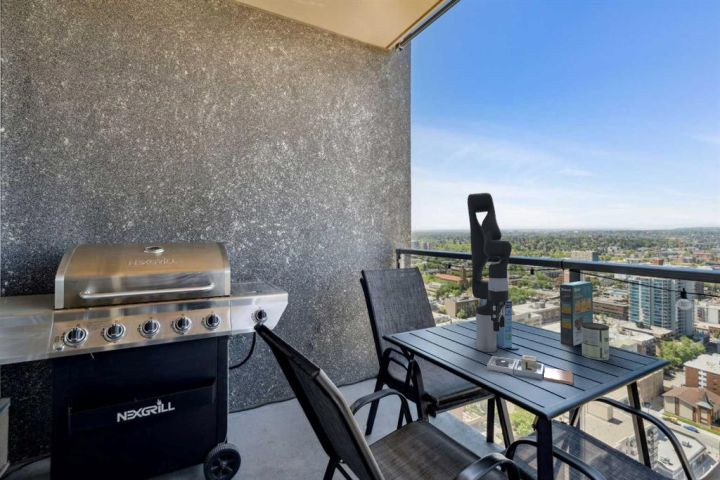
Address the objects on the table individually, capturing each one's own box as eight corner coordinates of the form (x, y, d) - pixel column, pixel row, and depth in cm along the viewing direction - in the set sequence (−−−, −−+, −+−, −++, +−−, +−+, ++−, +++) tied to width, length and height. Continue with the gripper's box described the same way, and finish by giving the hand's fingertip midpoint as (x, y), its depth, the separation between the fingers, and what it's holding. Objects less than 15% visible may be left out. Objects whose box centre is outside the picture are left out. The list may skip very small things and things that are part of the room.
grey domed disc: (496, 362, 141) (496, 358, 141) (509, 365, 139) (509, 360, 139) (494, 366, 137) (494, 361, 137) (507, 369, 135) (507, 364, 135)
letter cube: (522, 367, 136) (522, 354, 136) (536, 369, 134) (536, 356, 134) (521, 371, 132) (521, 358, 132) (535, 373, 129) (535, 360, 129)
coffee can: (583, 351, 158) (583, 321, 158) (611, 356, 151) (610, 324, 151) (579, 356, 150) (579, 325, 150) (607, 362, 143) (607, 329, 143)
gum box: (481, 337, 182) (480, 295, 182) (489, 336, 183) (488, 294, 183) (503, 348, 163) (503, 301, 163) (513, 347, 164) (512, 300, 164)
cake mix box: (580, 336, 183) (579, 281, 183) (593, 338, 177) (592, 282, 178) (560, 343, 170) (559, 284, 171) (573, 346, 165) (572, 285, 166)
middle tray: (517, 365, 140) (517, 359, 140) (543, 369, 135) (543, 363, 135) (514, 374, 130) (514, 369, 130) (542, 379, 125) (542, 373, 125)
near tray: (492, 360, 146) (492, 355, 146) (516, 364, 141) (516, 359, 141) (487, 369, 135) (487, 364, 135) (513, 374, 130) (512, 368, 130)
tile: (545, 370, 135) (545, 367, 135) (572, 374, 130) (572, 371, 130) (544, 379, 125) (544, 377, 125) (573, 384, 121) (573, 382, 121)
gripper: (493, 286, 144) (494, 324, 144) (483, 290, 133) (484, 331, 132) (512, 287, 140) (512, 326, 139) (503, 291, 128) (504, 334, 128)
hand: (499, 328), depth 136 cm, fingers open, 8 cm apart
